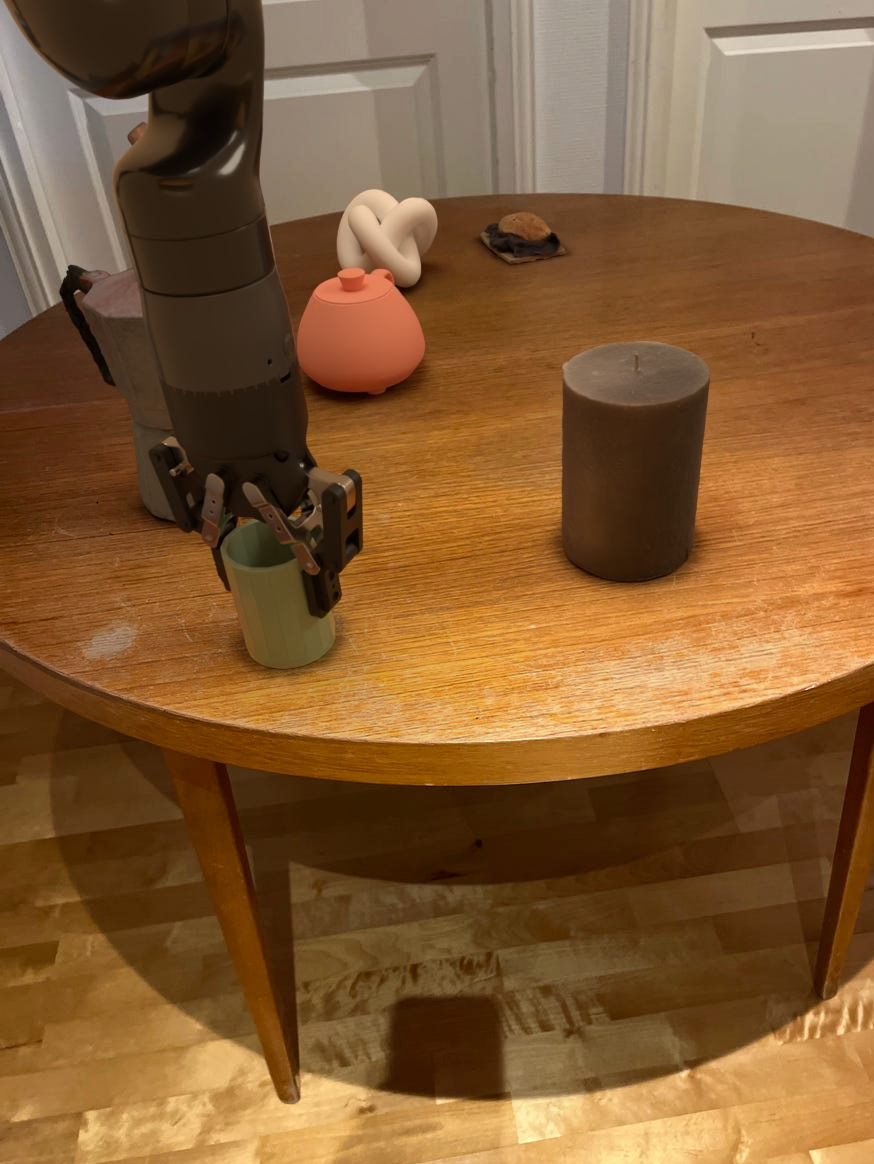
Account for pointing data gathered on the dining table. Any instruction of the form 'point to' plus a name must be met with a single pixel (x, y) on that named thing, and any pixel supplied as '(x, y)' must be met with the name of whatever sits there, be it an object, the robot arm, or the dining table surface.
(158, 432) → the moka pot
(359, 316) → the sugar bowl
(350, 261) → the cream knot sculpture
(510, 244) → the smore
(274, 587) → the cup
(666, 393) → the pillar candle
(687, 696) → the dining table surface
